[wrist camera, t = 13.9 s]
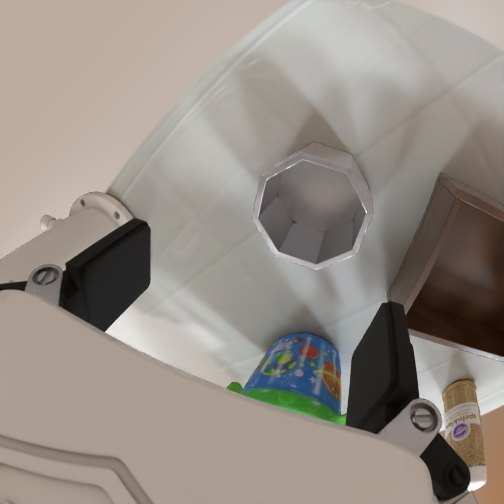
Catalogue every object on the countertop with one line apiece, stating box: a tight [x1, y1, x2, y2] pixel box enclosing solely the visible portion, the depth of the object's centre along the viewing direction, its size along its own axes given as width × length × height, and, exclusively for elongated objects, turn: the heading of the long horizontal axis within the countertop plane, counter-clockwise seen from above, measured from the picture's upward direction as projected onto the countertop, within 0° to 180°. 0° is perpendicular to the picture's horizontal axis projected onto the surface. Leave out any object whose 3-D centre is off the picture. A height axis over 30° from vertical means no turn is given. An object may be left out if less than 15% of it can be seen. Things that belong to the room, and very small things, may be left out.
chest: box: [387, 173, 504, 362], centre depth 17 cm, size 15×11×5 cm
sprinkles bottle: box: [442, 380, 487, 491], centre depth 20 cm, size 5×5×14 cm
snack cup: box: [227, 333, 347, 425], centre depth 25 cm, size 16×10×10 cm
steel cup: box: [252, 142, 373, 270], centre depth 19 cm, size 7×7×6 cm
